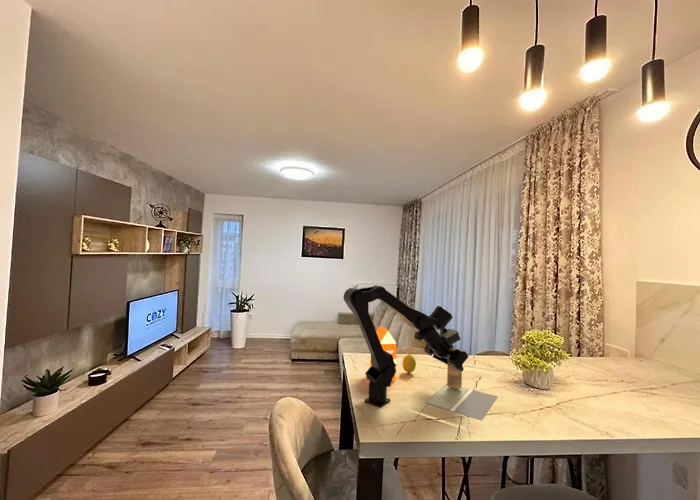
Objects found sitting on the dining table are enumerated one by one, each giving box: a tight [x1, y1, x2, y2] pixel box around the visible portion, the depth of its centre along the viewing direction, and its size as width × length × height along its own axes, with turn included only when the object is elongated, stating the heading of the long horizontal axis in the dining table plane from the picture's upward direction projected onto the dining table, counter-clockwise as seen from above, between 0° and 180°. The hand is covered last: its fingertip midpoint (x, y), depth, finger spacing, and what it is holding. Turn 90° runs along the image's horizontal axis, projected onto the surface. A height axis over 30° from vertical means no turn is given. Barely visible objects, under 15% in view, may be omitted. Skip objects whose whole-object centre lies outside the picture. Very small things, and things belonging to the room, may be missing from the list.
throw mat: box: [424, 383, 499, 421], centre depth 108 cm, size 22×18×1 cm
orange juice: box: [369, 325, 397, 383], centre depth 128 cm, size 8×9×20 cm
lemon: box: [402, 354, 417, 374], centre depth 134 cm, size 6×6×8 cm
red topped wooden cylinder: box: [446, 349, 463, 389], centre depth 117 cm, size 5×5×13 cm
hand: (457, 367), depth 117 cm, fingers closed on red topped wooden cylinder, 5 cm apart
